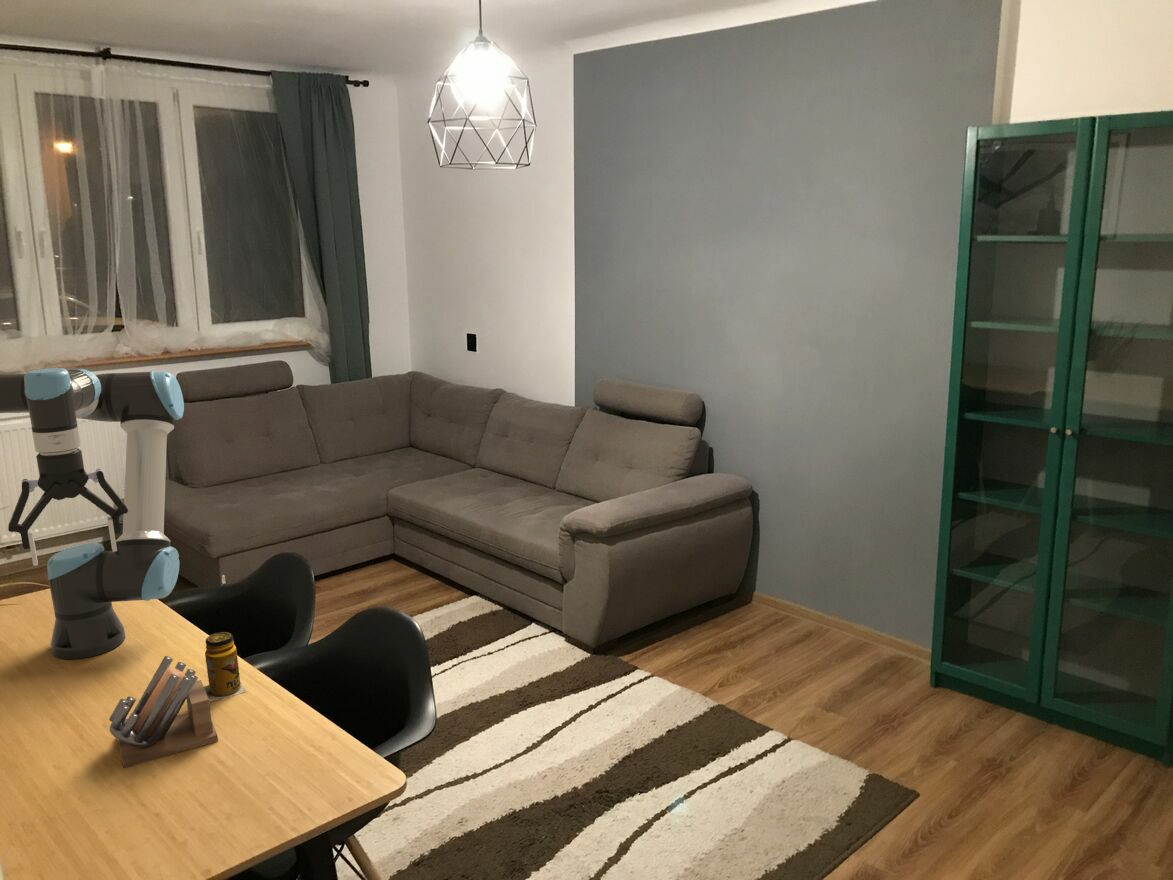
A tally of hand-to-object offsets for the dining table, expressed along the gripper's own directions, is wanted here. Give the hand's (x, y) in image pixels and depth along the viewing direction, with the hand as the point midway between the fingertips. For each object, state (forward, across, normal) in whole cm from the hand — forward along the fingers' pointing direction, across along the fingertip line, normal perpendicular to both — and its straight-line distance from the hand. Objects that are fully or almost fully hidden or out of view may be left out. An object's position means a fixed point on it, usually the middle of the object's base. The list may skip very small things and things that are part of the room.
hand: (75, 556), depth 181 cm
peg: (+29, +6, -21) cm, 36 cm away
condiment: (+32, +22, -8) cm, 40 cm away
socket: (+32, +9, -22) cm, 40 cm away
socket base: (+32, +10, -22) cm, 40 cm away
